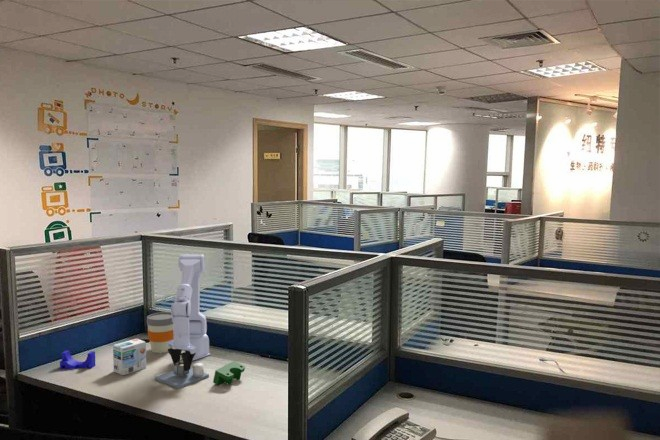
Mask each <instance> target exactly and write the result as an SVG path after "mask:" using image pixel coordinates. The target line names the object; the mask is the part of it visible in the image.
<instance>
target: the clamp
mask: <svg viewBox="0 0 660 440" xmlns="http://www.w3.org/2000/svg"><path fill="white" fill-rule="evenodd" d="M245 370H246V366H245V365H243V364H241V363H239V362H238V361H236V360H233V361H231V362H228V363H226V364H225V365H223V366H220V367H219V368H217V369H215V371H214V376H213V381H212V383H213V384H215V385H217V386H220V385H222V384H223V383H225V384H226V385H228V386H232V385H233V381H234V380H237V381H241V377H242V373H243V372H245Z"/></svg>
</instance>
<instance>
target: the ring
mask: <svg viewBox="0 0 660 440" xmlns="http://www.w3.org/2000/svg"><path fill="white" fill-rule="evenodd" d="M181 364H183V360H180V361H178V362H175V363H174V364H173V370H174V374H175V375H178V376H181V375H186V374H189V371H190V370H187V371H185V370H184V365H181ZM179 365H181V366H179Z"/></svg>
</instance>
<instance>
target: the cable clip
mask: <svg viewBox="0 0 660 440" xmlns="http://www.w3.org/2000/svg"><path fill="white" fill-rule="evenodd" d="M96 365H97V364H96V351H95V350H92V351H89V352H88V353H87V357H86V359H85V361H79V360H76V359H75V358H73V356H72V355H71V352H70V350H64V351H63V352H61V360H60V361H59V369H60V370H76V369H93V368H94V367H95V366H96Z"/></svg>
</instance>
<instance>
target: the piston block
mask: <svg viewBox="0 0 660 440" xmlns="http://www.w3.org/2000/svg"><path fill="white" fill-rule="evenodd" d="M181 365H184V364H181ZM181 365H179V366H181ZM204 366H205V365H204V363H203V362H202V363H201V362H196V363H193V364H192V368H191V367H190V371H189V374H186V375H181V376H178V375H175V374H174V369H173V370H170V371H168V372H164V373H162V374H159V375H157V376H154V380H155V381H158V382H160V383H163V384H166V385H168V386H170V387H172V388H176V389H177V390H179V389H182V388H185V387H186V386H187V387H188V386H190V385H192V384H194V383H197V382H199V381H200V382H201V381H202V380H205V379H207V378H209V377H210V374H209V373H206V372H204V369H205V367H204Z"/></svg>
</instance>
